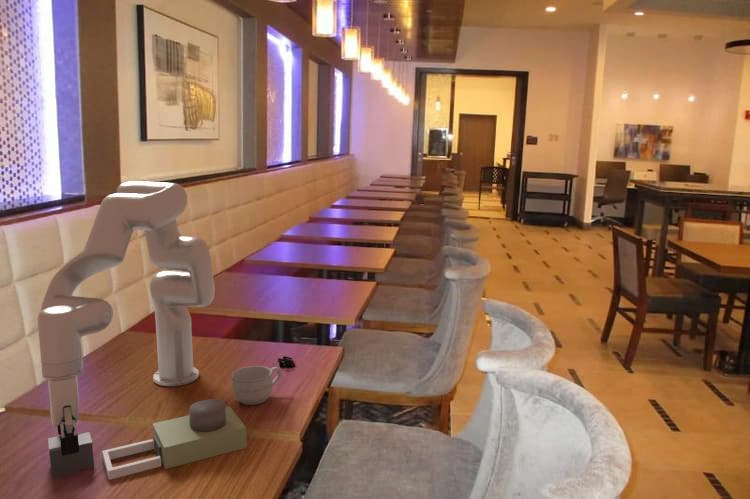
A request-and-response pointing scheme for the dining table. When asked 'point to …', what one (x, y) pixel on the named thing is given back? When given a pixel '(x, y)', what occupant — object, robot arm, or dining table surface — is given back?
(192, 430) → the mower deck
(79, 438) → the grey block
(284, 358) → the wireless earbuds
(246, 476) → the dining table surface
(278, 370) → the teacup
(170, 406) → the dining table surface
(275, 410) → the dining table surface
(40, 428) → the dining table surface
